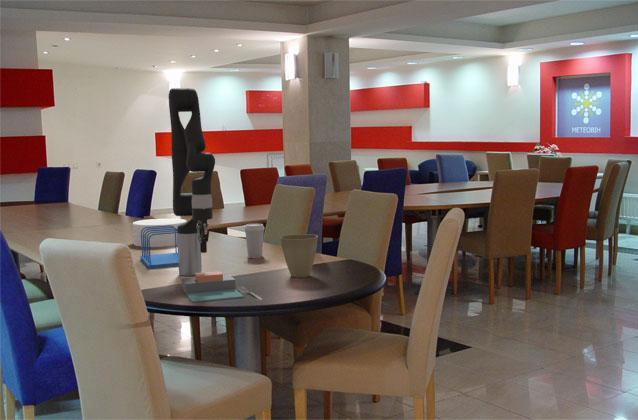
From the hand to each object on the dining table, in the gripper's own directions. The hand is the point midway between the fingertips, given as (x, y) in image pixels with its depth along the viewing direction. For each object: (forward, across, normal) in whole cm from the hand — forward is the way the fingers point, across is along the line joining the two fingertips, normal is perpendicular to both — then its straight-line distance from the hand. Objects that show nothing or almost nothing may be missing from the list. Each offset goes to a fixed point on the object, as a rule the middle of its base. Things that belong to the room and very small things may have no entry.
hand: (203, 252), depth 260 cm
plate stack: (+12, -117, -1) cm, 117 cm away
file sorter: (+12, -57, -8) cm, 59 cm away
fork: (+14, +22, +13) cm, 29 cm away
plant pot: (+13, -4, +39) cm, 41 cm away
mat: (+13, +17, 0) cm, 22 cm away
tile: (+8, +8, 0) cm, 11 cm away
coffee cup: (+12, -54, +34) cm, 65 cm away
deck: (+13, +6, 0) cm, 14 cm away
